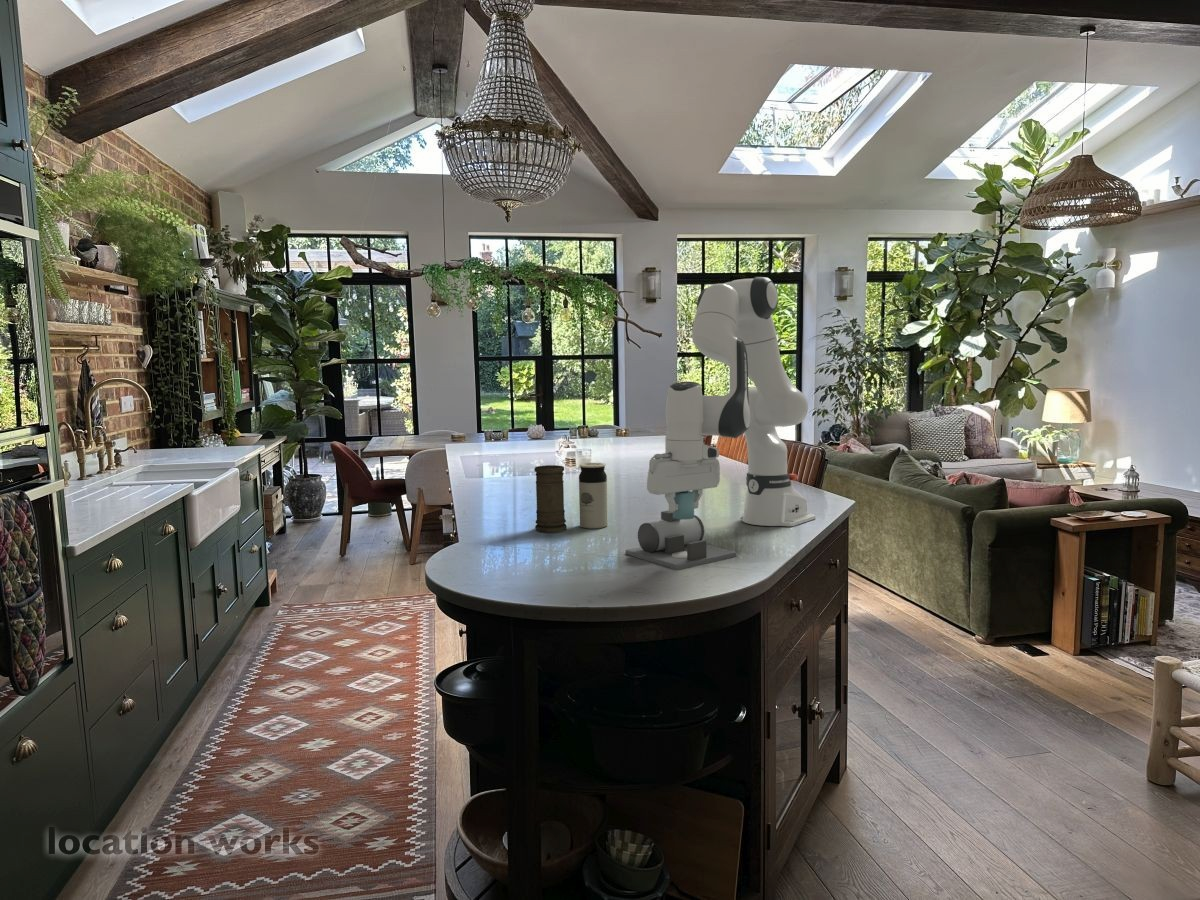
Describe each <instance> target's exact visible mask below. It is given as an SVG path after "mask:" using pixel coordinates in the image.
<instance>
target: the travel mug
mask: <svg viewBox="0 0 1200 900" xmlns="http://www.w3.org/2000/svg"><path fill="white" fill-rule="evenodd" d="M606 465H607V464H606V463H603V462H584V463H580V464H579V467H580V473H579V474H578V493H579V495H578V497H579V500H578V501H579V505H578V506H579V526H580V527H581V528H583V529H589V530H593V529H594V530H595V529H597V528H598V529H603V528H606V527H607V526H608V524H609V523H608V476H607V474H606V471H605V467H606Z"/></svg>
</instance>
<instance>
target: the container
mask: <svg viewBox="0 0 1200 900" xmlns="http://www.w3.org/2000/svg"><path fill="white" fill-rule="evenodd" d="M564 471H565V467H564V466H563V465H557V464H556V465H554V464H553V465H552V464H551V465H549V464H548V465H538V466H535V467H534V473H535V478H536V479H535V485H536V486H535V490H536V493H535V494H536V511H535V513H536V520H535V524H536V525H535V527H534V529H535V531H536V532H539V533H542V532H543V533H545V534H554V533H556V534H557V533H563V532H565V531H567V527H568V526H567V524H566V523H567V520H566V517H565V503H564V502H565V498H564V495H565V493H564V491H565V490H564V474H565V473H564Z"/></svg>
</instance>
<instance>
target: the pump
mask: <svg viewBox="0 0 1200 900" xmlns="http://www.w3.org/2000/svg"><path fill="white" fill-rule="evenodd" d="M673 498H674V501H675V503H676V504H678V511H675V512H673V518H675V519H683V520H685V519H693V518H694V515H695V509H694V492H692V490H691V491H684V492H676V493H675V497H673Z"/></svg>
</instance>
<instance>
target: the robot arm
mask: <svg viewBox="0 0 1200 900" xmlns="http://www.w3.org/2000/svg"><path fill="white" fill-rule="evenodd" d="M778 303H779V294H778V289H777V287H776V284H775V283H774V282H773V280H771V279H770V278H769V277H766V276H765V277H764V276H755V277H754V278H741V279H734V280H732V281H728V282H724V283H714V284H712V285H710V286H708V287H706V288H704V289H702V290H701V291H700V294H699V295H698V296H697V299H696V308H697V309H696V310H695V311H696V312H695V315H694V320H693V325H692V332H691V338H692V343H693V345H694V347H695V348H696V349H697V350H698V351H699V353H701V354H703V356H705V357H707V358H709V359H710V360H713V361H717V362H720V363H722V364H724V365H726V366H727V367H729V392H728V393H726V394H724V395H704V394H703V391H702V386H701V384H700V383H698V382H696V381H680V382H679V381H678V382H674V383H672V384H671V385H669V386H668V388H667V389H668V390H667V396H666V402H665V403H666V404H665V423H666V434H665V444H664V445H665V450H664V451H665V452H664V453H656V454H654V455H653V456H652V457H651V458H650V459H649V462H648V465H649V467H648V472H647V479H646V480H647V481H646V490H647V491H648V493H649V494H652V495H664V498H665V500H666V502H667V504H668V510H669V511H671V512H675V511H678V504H676V503H675V501H674V498H673V497H675V493H676V492H684V491H692V492H694V510H696V509H698V508H699V501H700V500H701V498H702V496H703V490H706V489H712V488H713V489H714V488H717V487H718V486H719V484H720V481H721V468H720V467H721V465H720V461H719V459H718V458H719V457H720V449H718V448H716V447H714V446H711V445H707V444H705V443H704V436H717V437H718V436H719V437H725V438H732V439H737V438H739V437H740V436H742V435H744V437H745V441H746V447H747V472H746V477H745V479H746V481H745V483H746V486H747V490H746V491H745V498H744V506H743V507H744V508H743V512H742V514H741V518H742V522H743V523H745V524H750V525H754V526H761V527H762V526H766V527H796V526H797V525H801V524H803V523H806V522H807V523H808V522H809V521H813V520H816V515H815V514H813V513H810V512H808V504H807V499H806V498H805V497H804V496H803V495H802V494H801V493H800V492H799V491H797V490H796V489H795V487H793V486H792V481H794V482H796V481H797V479H798V474H796V473H788V446H787V445H786V443H785V442H784V440H782V439H781V438H780V436H779V435H778V433H777V430H776V427H780V428H781V427H782V428H784V427H786V428H787V427H791V426H796V425H799V424H801V423H802V422H803V421H804V420H805V419H806V417H807V415H808V410H809V403H808V399H807V397H806V396H805V394H804V393H803V392H802V391H800V390H799V389H798V388H797V387H796V386H795V385H794V383H793V382H792V381H791V379H790V378H789V376H788V374H787V372H786V370H785V368H784V366H783V362H782V359H781V358H782V357H781V355H780V354H781V353H780V349H779V341H778V337H777V331H776V326H775V322H774V320H773V316H772V315H773V314H774V312H775V311H776V308H777V307H778V305H779V304H778ZM749 378H750V380H751V381H752V383H753V384H754V386H749Z"/></svg>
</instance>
